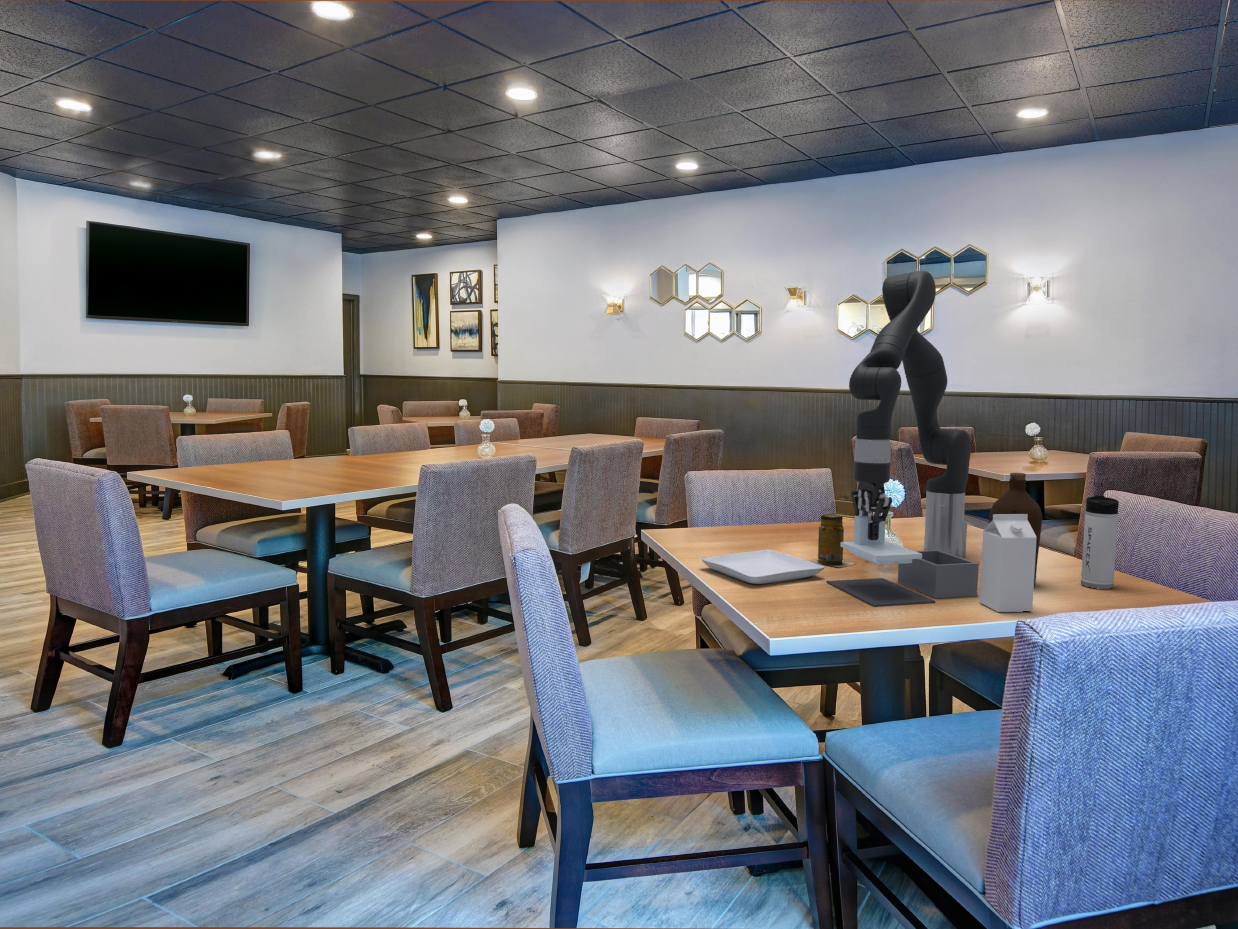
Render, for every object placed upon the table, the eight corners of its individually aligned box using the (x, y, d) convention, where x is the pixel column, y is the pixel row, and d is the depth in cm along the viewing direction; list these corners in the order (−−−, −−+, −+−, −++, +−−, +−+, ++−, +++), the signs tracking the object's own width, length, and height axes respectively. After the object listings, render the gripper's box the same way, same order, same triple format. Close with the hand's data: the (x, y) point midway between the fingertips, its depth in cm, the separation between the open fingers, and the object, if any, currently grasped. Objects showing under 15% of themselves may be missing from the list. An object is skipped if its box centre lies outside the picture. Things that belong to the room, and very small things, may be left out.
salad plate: (752, 590, 176) (752, 575, 176) (698, 570, 195) (698, 556, 195) (827, 580, 186) (827, 565, 186) (769, 562, 205) (769, 548, 205)
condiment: (827, 558, 208) (829, 512, 207) (855, 564, 201) (857, 516, 200) (809, 562, 203) (811, 515, 202) (838, 568, 197) (839, 519, 196)
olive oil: (1047, 589, 178) (1054, 476, 175) (999, 589, 178) (1005, 475, 175) (1023, 578, 188) (1030, 470, 186) (978, 577, 188) (983, 470, 186)
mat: (882, 579, 186) (882, 577, 186) (935, 602, 166) (935, 600, 166) (826, 582, 182) (826, 580, 182) (873, 606, 163) (873, 604, 163)
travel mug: (1108, 583, 183) (1115, 496, 181) (1116, 590, 177) (1122, 500, 175) (1077, 581, 185) (1083, 494, 183) (1083, 588, 179) (1089, 498, 177)
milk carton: (978, 603, 166) (983, 511, 164) (1012, 602, 167) (1017, 511, 165) (997, 613, 159) (1003, 517, 157) (1032, 612, 160) (1038, 517, 158)
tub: (897, 582, 183) (899, 551, 182) (936, 580, 185) (938, 550, 185) (935, 598, 170) (936, 565, 169) (977, 595, 172) (978, 563, 171)
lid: (840, 551, 180) (841, 515, 179) (883, 549, 182) (884, 513, 181) (875, 566, 165) (877, 526, 165) (921, 564, 168) (923, 525, 167)
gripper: (905, 462, 170) (902, 544, 172) (871, 456, 184) (868, 532, 185) (873, 463, 168) (870, 545, 170) (840, 457, 182) (838, 533, 184)
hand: (869, 538), depth 178 cm, fingers closed on lid, 2 cm apart
